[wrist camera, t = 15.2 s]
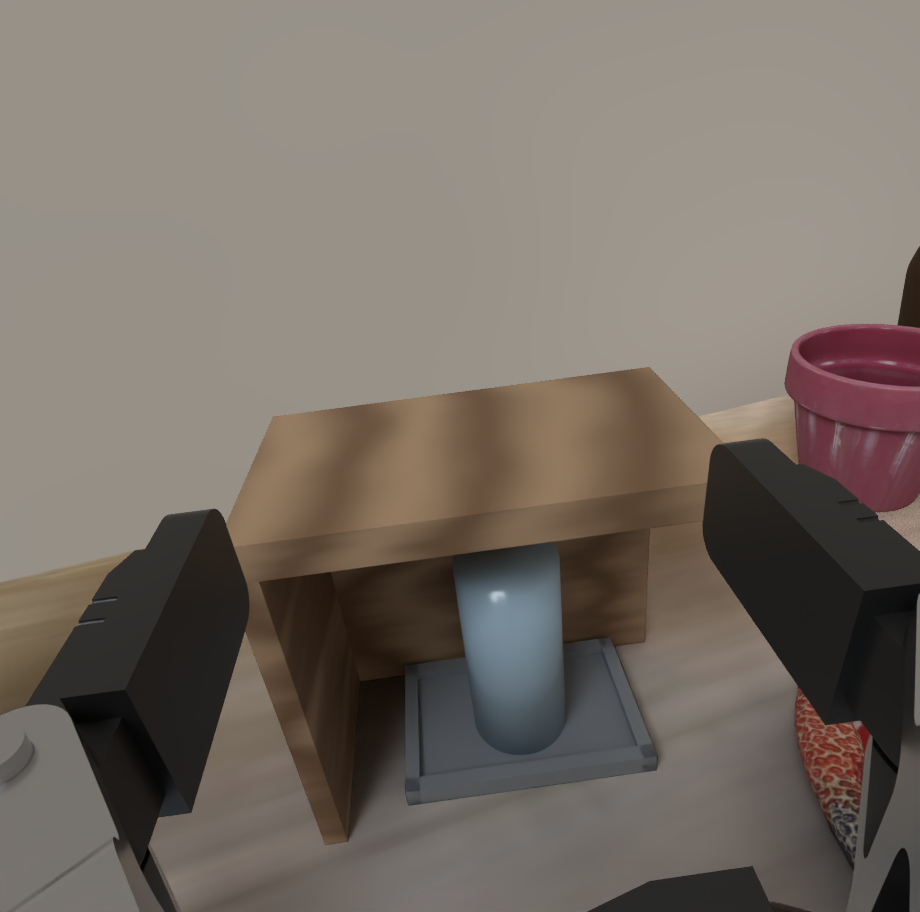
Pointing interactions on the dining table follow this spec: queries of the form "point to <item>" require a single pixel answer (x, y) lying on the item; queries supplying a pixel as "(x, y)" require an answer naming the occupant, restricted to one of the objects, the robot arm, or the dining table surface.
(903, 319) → the olive oil
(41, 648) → the dining table surface
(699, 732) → the dining table surface
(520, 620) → the tall pale blue cylinder
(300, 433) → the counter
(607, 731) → the tray
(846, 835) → the dish
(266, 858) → the dining table surface
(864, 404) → the plant pot
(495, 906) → the dining table surface
